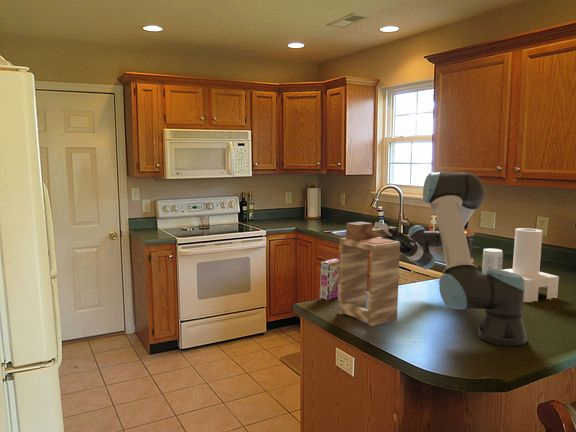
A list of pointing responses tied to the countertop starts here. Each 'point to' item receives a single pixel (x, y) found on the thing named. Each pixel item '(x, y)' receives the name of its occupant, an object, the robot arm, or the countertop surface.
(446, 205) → the robot arm
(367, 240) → the mat
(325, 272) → the candy bar box
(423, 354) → the countertop surface
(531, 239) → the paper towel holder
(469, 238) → the whiskey bottle
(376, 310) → the wooden open frame
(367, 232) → the mallet
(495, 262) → the supplement tub
